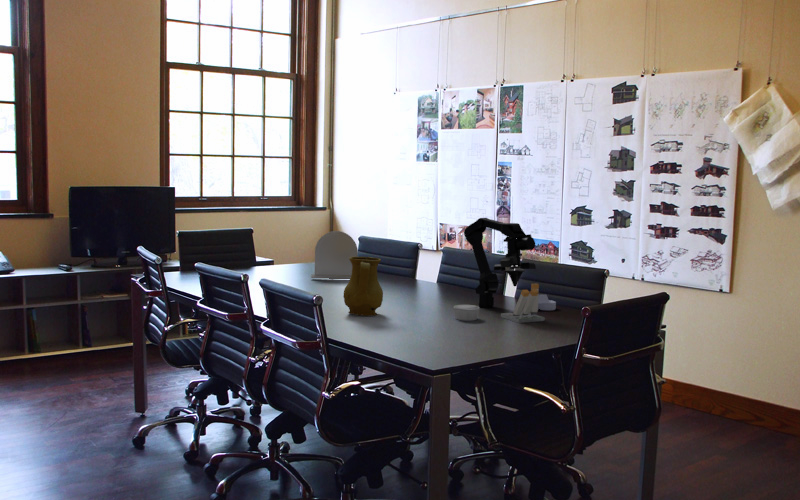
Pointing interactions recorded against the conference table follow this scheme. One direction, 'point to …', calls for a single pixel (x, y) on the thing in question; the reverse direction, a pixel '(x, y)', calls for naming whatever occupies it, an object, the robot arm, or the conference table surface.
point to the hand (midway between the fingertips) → (515, 286)
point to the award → (334, 256)
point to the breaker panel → (522, 317)
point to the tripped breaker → (535, 305)
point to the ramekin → (466, 312)
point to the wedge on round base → (545, 303)
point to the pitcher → (363, 287)
